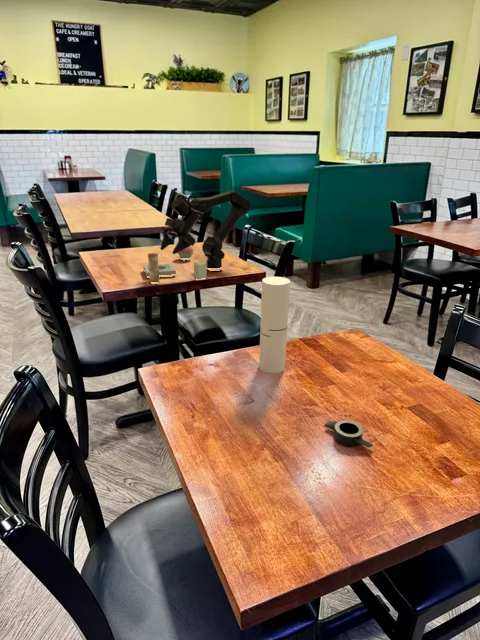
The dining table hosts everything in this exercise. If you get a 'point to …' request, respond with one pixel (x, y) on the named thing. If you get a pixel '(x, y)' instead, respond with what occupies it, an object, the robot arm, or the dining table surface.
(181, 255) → the cupcake
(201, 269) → the square bit
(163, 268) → the bore block
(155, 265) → the birch dowel
